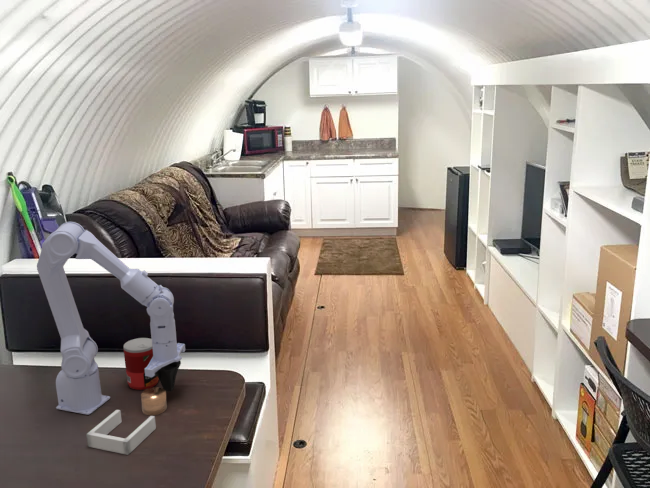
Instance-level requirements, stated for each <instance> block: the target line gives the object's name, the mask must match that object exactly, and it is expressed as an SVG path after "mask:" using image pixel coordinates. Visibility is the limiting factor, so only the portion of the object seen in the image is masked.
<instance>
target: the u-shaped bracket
mask: <svg viewBox="0 0 650 488" xmlns="http://www.w3.org/2000/svg"><path fill="white" fill-rule="evenodd" d="M122 420H123V419H122V411H121V410H120V409H115V410H114V411H113V412H112V413H110V414H109V415H108V416H107V417H106V418H104V419H103V420H102V421H100V423H99V422H98V424H97V425H95V427H93V428H92V429H91V430H90V431H88V432H87V433H85V434H86V442H87V447H89V448H94V449H98V450H103V451H106V452H107V451H108V452H112V453H117V454H121V455H127V456H129V455H130V454H131V453H132V452H133V451H134V450H135V449H136V448H137V447H139V445H140V444H142V442H143V441H144V440H146V438H148V437H149V436H150V435H151V433H153V432H154V431H155V430H156V428H157V425H156V424H157V423H156V415H149V416H148V418H146V419H145V420H144V421H143V422H142V423H141V424H140V425H139V426H138V427H137V428H136V429H135V430H133V431H132V432H131V433H130V434H129V435H128V436H126V437H125V438H123V437H120V436H113V435H110V434H109V433H111V432H112V431H113V430H114V429H115V428H116V427H118V426H119V425H120V424H121V423H122ZM108 434H109V435H108Z"/></svg>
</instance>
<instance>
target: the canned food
mask: <svg viewBox="0 0 650 488" xmlns="http://www.w3.org/2000/svg"><path fill="white" fill-rule="evenodd" d="M123 356H124V363H125V365H124V366H125V372H126V381H127V385H128V386H129V388H130V389H133V390H137V391H142V390H143V391H145V390H146V389H149V388H153V387H156V386H157V384H158V383H159V381H160V380H159V378H158V377H157V375H156V374H155V376H153V377H148V376H145V368H146V367H147V366H148V364H149V362H150V361H151V359H152V357H153V349H152V338H148V337H138V338H134V339H130V340H128V341H126V342H125V343H124V344H123Z"/></svg>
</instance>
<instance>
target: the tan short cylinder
mask: <svg viewBox="0 0 650 488" xmlns="http://www.w3.org/2000/svg"><path fill="white" fill-rule="evenodd" d="M140 398H141V400H140V401H141V410H142V414H144V415H146V416H157V415H161V414H163V413H164V412H165V411H166V410H167V408H168V405H167V404H168V403H167V391H165V390H164V389H163V387H160V386H159V387H157V386H153V387H151V388H148V389H144V390H143V391H142V392H141V393H140Z"/></svg>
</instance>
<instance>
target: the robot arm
mask: <svg viewBox="0 0 650 488" xmlns="http://www.w3.org/2000/svg"><path fill="white" fill-rule="evenodd" d="M75 254H76V256H75V260H92V261H93V262H94V263H96V264H98V265H99V266H100V267H102V268H103V269H104V270H106V271H107V272H108V273H109V274H111V275H113V276H114V277H116V278H117V279H118V280H119V282H120V287H121V289H122V290H124V291H125V292H126V293H127V294H128V295H130V296H131V297H132V298H134V300H136V301H137V302H138V303H139V304H141V305H142V306H145V307H146V313H147V315H148V316H149V319H150V322H149V326H150V327H149V328H150V335H151V336H150V337H151V338H150V339H152V349H153V357H152V359H151V361H150V362H149V364H148V366H147V367H146V368H145V376H148V377H153V376H155V374H156V375H157V377H158V378H159V380H158V381H159V382H160V385H161V388H163V389H164V390H165V391H166V392H172V391H173V390H174V389H175V384H176V378H177V374H178V371H179V369H180V366H181V364H182V362H181V360H182V357H183V355H181V354H182V353H184V352H185V351H186V344H185V343H180V342H177V331H176V329H177V328H176V320H175V314H174V303H175V298H174V295H173V293H172V291H171V290H170V289H169V288H167V287H164V286H162V284H157V283H156V282H155V281H154V280H152V279H151V278H150V277H149V276H148V275H149V273H148V271H146V270H140V269H139V268H129V267H128V265H126V264H125V263H124V262H123V261H121V259H120V258H119V257H118V256H116V254H114V253H113V252H112V251H111V250H110V249H109V248H108V247H106V246H105V245H104V244H103V243H102V242H101V241H100V240H99V239H98V238H96V236H95V235H94V234H93V233H92V232H91V231H90V230H88V229H84V227H83V226H82V225H81V224H80V223H77V222H75V221H67V222H66V221H65V222H64V223H62V224H61V225H59V227H58V228H57V229H56V230H55V231H53V232H51V233H50V235H48V236H47V238H45V240H44V241H43V242H42V244H41V251H40V254H39V258H38V260H37V263H36V270H37V273H38V275H39V278H40V281H41V284H42V287H43V290H44V292H45V296H46V299H47V301H48V305H49V307H50V308H49V309H50V310H51V313H52V316H53V319H54V322H55V326H56V328H57V331H58V333H59V334H58V335H59V336H60V354H61V357H62V359H61V362H60V363H61V364H60V365H61V370H60V371H59V372H58V373H57V376H56V378H55V389H56V394H57V395H56V396H57V402H58V405H57V406H56V407H55V408H56V410H62V411H66V412H72V413H77V414H83V415H91V414H92V413H94V412H95V411H96V410H97V409H99V408H100V407H101V406H102V405H104V404H105V403H106V402H108V401H109V400H110V399H111V396H109V395H104V394H102V389H101V388H102V387H101V379H100V372H99V365H98V363H97V362H96V360H95V357H96V356H97V354H98V351H99V348H98V345H97V343H96V341H94V340H93V338H92V337H91V336H90V333H89V331H88V330H87V329H86V328H84V325H83V323H82V319H81V316H80V313H79V311H78V307H77V305H76V302H75V298H74V296H73V292H72V289H71V286H70V283H69V281H68V278H67V274H66V271H65V268H64V266H65V264H66V263H67V262H68V260H69V259H70V258H71V257H72V256H74V255H75Z"/></svg>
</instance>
